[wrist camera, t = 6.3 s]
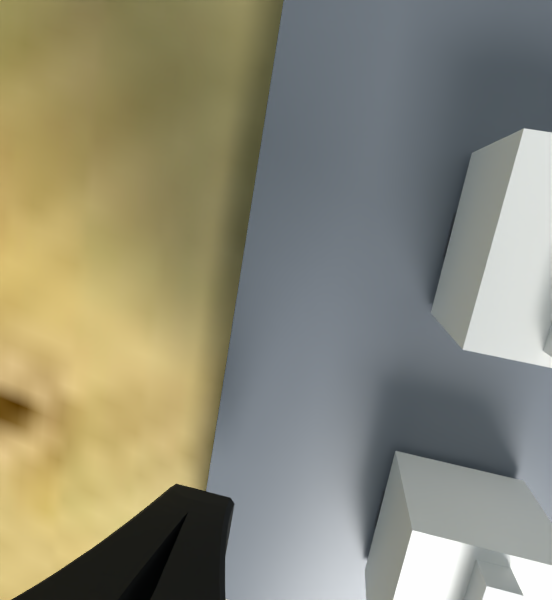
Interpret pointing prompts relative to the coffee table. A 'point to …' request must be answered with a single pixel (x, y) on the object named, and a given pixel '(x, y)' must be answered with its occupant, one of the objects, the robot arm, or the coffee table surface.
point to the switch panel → (369, 283)
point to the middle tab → (502, 253)
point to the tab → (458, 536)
